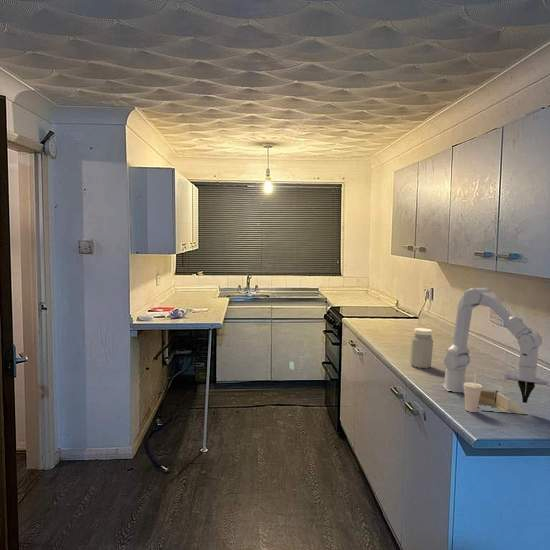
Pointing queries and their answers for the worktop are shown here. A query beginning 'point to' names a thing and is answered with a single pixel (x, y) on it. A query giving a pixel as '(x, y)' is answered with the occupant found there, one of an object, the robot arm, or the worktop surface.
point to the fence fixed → (488, 396)
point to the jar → (421, 348)
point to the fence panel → (503, 401)
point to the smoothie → (472, 395)
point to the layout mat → (513, 408)
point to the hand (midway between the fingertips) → (524, 402)
